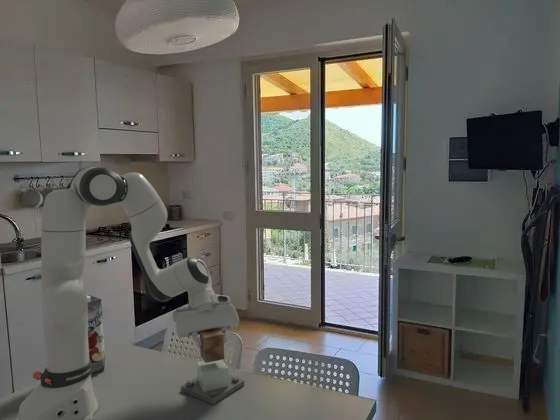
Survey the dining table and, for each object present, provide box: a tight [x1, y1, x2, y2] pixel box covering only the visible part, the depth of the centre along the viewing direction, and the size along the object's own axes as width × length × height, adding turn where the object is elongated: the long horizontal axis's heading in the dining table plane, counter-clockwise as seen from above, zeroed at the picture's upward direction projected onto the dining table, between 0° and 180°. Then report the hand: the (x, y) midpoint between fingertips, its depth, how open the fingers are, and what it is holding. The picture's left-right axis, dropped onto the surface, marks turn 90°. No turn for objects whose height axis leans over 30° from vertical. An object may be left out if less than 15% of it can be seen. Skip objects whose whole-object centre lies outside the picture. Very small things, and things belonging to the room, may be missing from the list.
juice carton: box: [87, 294, 106, 376], centre depth 149 cm, size 9×10×27 cm
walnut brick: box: [199, 328, 225, 363], centre depth 138 cm, size 6×6×8 cm
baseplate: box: [180, 359, 245, 405], centre depth 139 cm, size 14×14×8 cm
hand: (212, 344), depth 137 cm, fingers closed on walnut brick, 6 cm apart
